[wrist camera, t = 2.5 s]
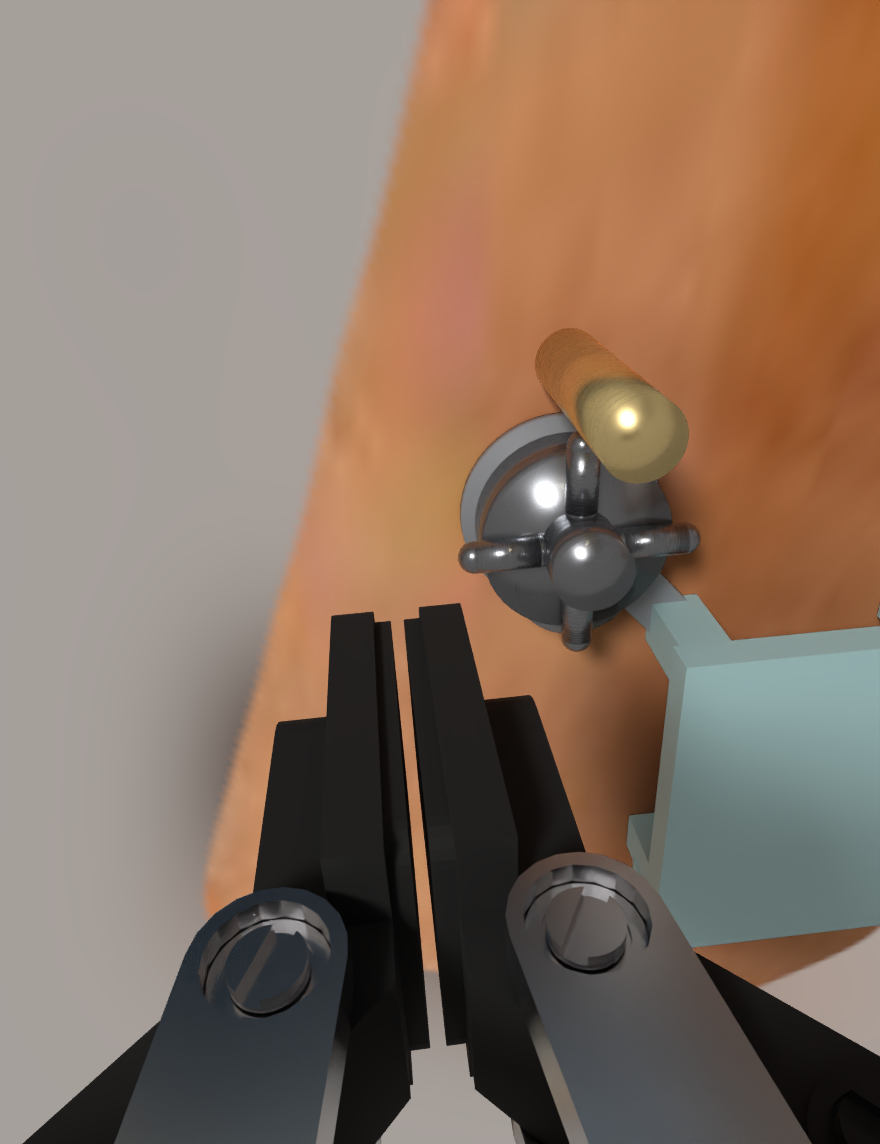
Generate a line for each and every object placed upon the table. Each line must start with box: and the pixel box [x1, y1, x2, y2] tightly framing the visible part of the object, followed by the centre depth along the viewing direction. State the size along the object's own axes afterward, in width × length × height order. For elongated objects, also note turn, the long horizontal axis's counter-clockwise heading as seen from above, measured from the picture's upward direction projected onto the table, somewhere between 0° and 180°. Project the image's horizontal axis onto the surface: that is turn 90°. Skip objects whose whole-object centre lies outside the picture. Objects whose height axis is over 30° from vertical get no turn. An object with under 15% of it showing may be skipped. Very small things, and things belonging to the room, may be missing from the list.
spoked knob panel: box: [460, 412, 880, 948], centre depth 28 cm, size 22×18×5 cm
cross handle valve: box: [458, 328, 701, 652], centre depth 22 cm, size 10×8×7 cm
